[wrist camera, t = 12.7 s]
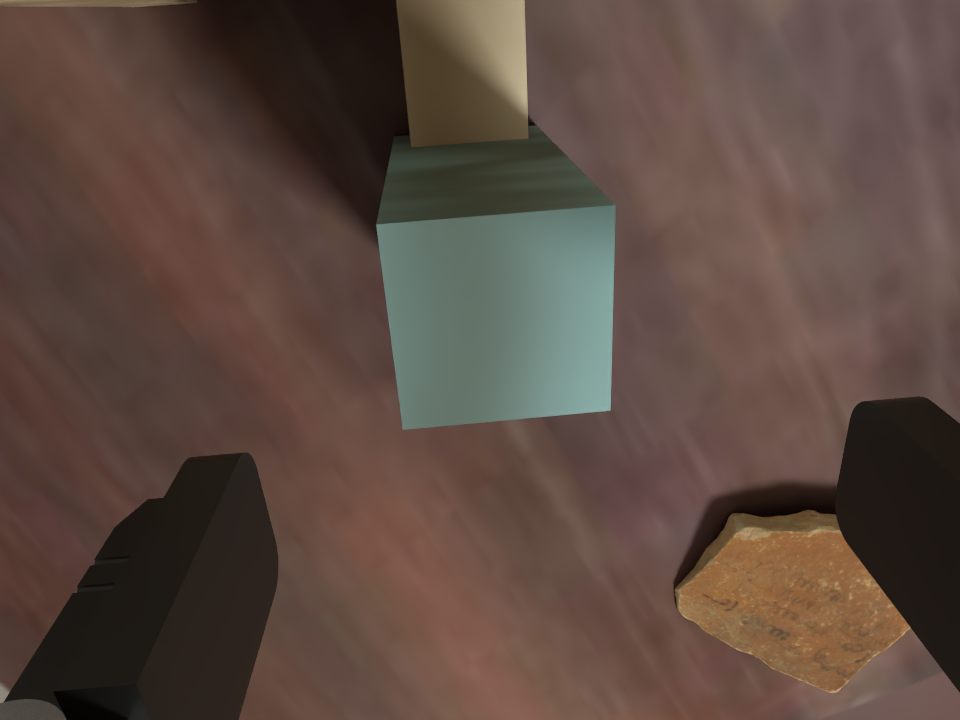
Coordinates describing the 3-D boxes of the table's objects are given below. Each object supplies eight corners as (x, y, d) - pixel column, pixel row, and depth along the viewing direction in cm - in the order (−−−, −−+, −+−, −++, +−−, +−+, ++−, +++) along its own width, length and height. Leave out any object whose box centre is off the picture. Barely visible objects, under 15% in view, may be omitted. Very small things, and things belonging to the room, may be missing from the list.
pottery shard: (987, 499, 28) (1037, 542, 26) (856, 659, 32) (890, 709, 29) (766, 430, 26) (800, 470, 23) (652, 611, 29) (672, 661, 27)
